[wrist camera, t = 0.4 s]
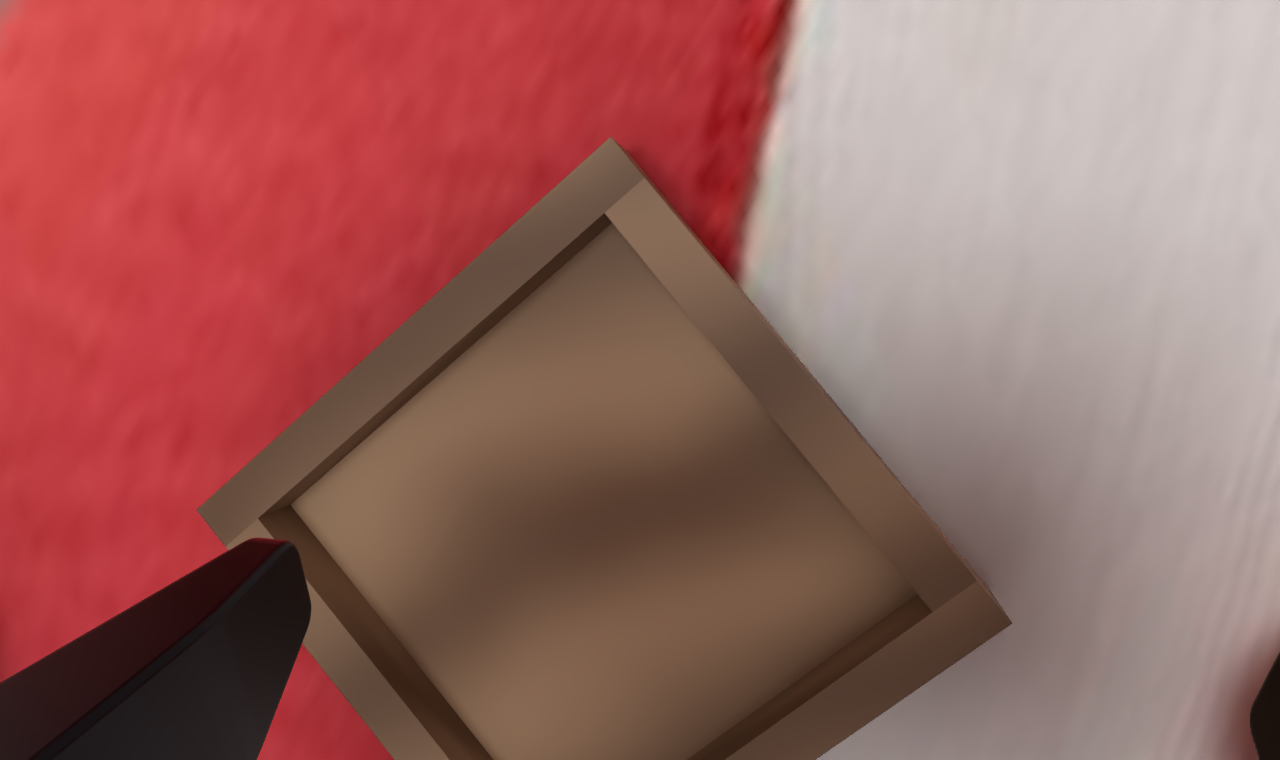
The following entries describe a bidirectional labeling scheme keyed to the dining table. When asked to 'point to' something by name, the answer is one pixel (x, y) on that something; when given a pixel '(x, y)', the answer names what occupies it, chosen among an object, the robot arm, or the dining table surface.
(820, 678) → the walnut dish
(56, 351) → the dining table surface
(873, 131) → the dining table surface
